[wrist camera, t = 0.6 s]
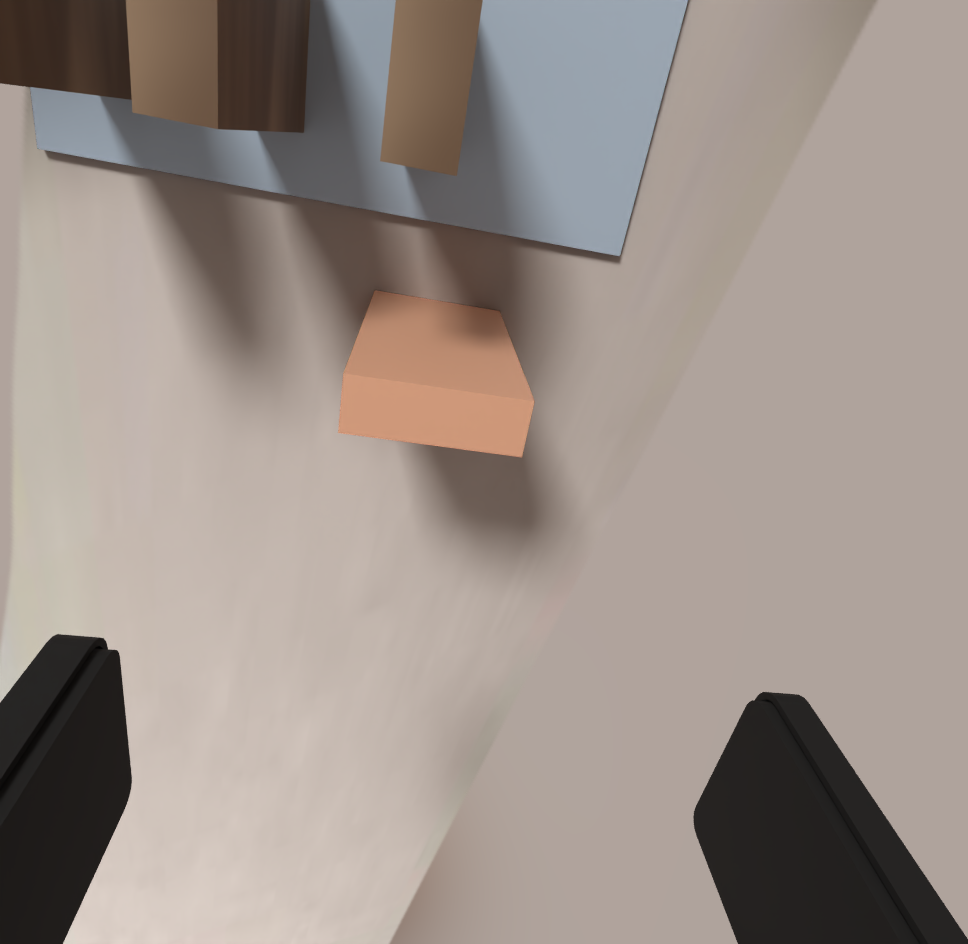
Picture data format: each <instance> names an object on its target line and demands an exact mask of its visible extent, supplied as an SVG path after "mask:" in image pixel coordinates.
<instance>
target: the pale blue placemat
mask: <svg viewBox="0 0 968 944" xmlns="http://www.w3.org/2000/svg"><path fill="white" fill-rule="evenodd" d="M395 2H396V0H310V17H309V38H308V59H307V80H306V100H305V121H304V133H296V132H271V131H247V130H222V129H214V128H209V127H204V126H199V125H193V124H188V123H183V122H178V121H173V120H168V119H163V118H158V117H153V116H148V115H142V114H137V113H132V100H129V99H121V98H113V97H105V96H97V95H89V94H81V93H73V92H66V91H58V90H50V89H42V88H34V87H30V91H31V99H32V107H33V115H34V124H35V132H36V140H37V149H42V150H47V151H53V152H58V153H64V154H69V155H74V156H80V157H85V158H91V159H96V160H101V161H107V162H112V163H118V164H123V165H128V166H134V167H139V168H145V169H150V170H156V171H161V172H166V173H172V174H177V175H183V176H188V177H193V178H199V179H204V180H210V181H215V182H221V183H226V184H231V185H237V186H242V187H248V188H253V189H258V190H264V191H269V192H275V193H280V194H286V195H291V196H296V197H302V198H307V199H313V200H318V201H323V202H329V203H334V204H340V205H345V206H351V207H356V208H361V209H367V210H372V211H378V212H383V213H388V214H394V215H399V216H405V217H410V218H416V219H421V220H426V221H432V222H437V223H443V224H448V225H453V226H459V227H464V228H470V229H475V230H480V231H486V232H491V233H497V234H502V235H508V236H513V237H518V238H524V239H529V240H535V241H540V242H545V243H551V244H556V245H562V246H567V247H573V248H578V249H583V250H589V251H594V252H600V253H605V254H610V255H616V256H620V254H621V250H622V246H623V242H624V239H625V235H626V231H627V227H628V224H629V220H630V216H631V212H632V209H633V205H634V201H635V197H636V194H637V190H638V186H639V182H640V179H641V175H642V171H643V167H644V164H645V160H646V156H647V152H648V149H649V145H650V141H651V137H652V134H653V130H654V126H655V122H656V118H657V115H658V111H659V107H660V103H661V100H662V96H663V92H664V88H665V85H666V81H667V77H668V73H669V70H670V66H671V62H672V58H673V55H674V51H675V47H676V43H677V40H678V36H679V32H680V28H681V25H682V21H683V17H684V13H685V10H686V6H687V2H688V0H483V2H482V9H481V16H480V22H479V29H478V36H477V43H476V50H475V56H474V63H473V70H472V77H471V83H470V90H469V97H468V104H467V111H466V117H465V124H464V131H463V138H462V144H461V151H460V158H459V165H458V172H457V176H453V175H448V174H443V173H438V172H433V171H428V170H423V169H418V168H413V167H407V166H402V165H397V164H392V163H387V162H382V161H380V157H381V146H382V136H383V126H384V115H385V105H386V95H387V85H388V74H389V64H390V54H391V43H392V33H393V23H394V13H395Z"/></svg>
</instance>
